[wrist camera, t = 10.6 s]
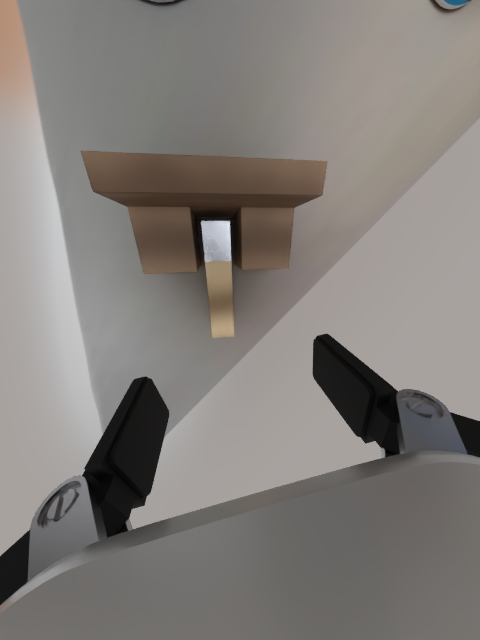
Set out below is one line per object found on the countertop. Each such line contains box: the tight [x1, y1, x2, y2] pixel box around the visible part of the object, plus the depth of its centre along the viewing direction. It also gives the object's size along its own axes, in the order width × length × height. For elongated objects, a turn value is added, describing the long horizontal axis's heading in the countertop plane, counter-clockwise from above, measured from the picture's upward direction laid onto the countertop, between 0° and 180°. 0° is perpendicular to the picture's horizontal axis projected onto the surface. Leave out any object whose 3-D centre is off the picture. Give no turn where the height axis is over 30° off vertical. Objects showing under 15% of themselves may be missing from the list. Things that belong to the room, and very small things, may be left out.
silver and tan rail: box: [201, 221, 234, 338], centre depth 24 cm, size 14×3×6 cm, turn 1°
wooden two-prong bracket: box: [81, 151, 327, 274], centre depth 18 cm, size 8×16×12 cm, turn 91°
